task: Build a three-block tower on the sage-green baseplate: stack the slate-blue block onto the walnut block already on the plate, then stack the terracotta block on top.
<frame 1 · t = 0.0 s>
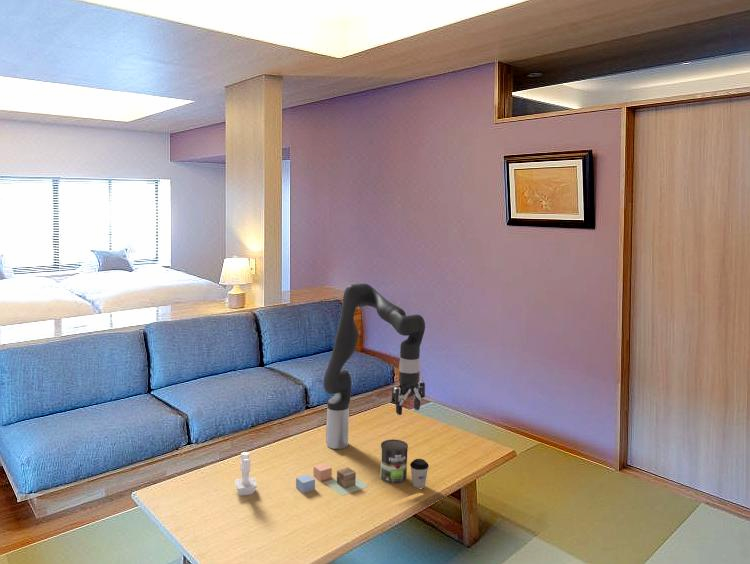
hand: (408, 411, 211), 29 cm above the table, fingers open, 8 cm apart
coffee can: (393, 479, 221), on the table
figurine: (245, 492, 209), on the table
baseplate: (346, 486, 214), on the table
slate block: (305, 491, 211), on the table
walnut block: (346, 484, 214), point 1 cm above the table, touching baseplate
coffee cup: (418, 487, 216), on the table
terracotta block: (322, 479, 220), on the table
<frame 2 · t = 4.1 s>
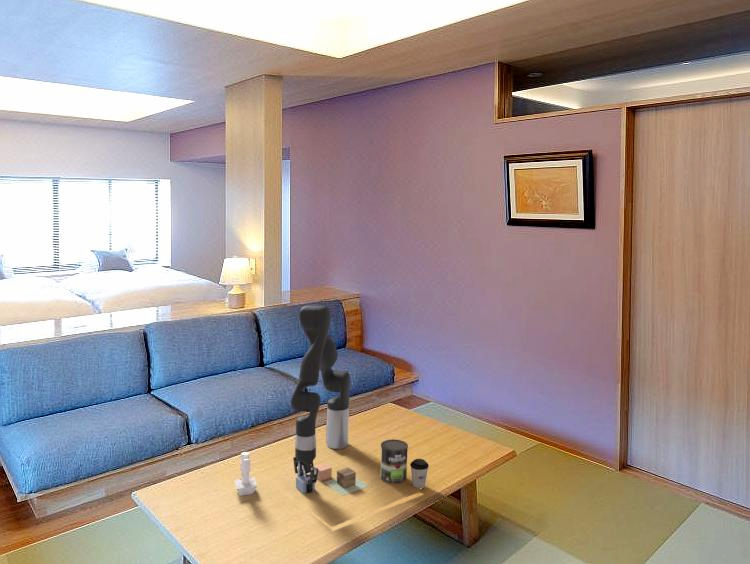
hand: (305, 489, 210), 1 cm above the table, fingers closed on slate block, 5 cm apart
slate block: (305, 491, 211), on the table, touching gripper
everything else where it was.
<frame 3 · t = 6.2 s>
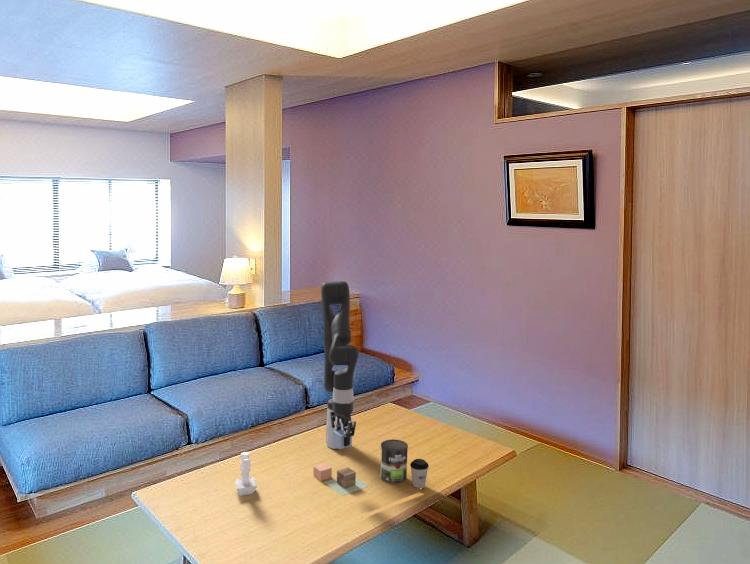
hand: (342, 443, 212), 17 cm above the table, fingers closed on slate block, 5 cm apart
slate block: (342, 445, 212), point 16 cm above the table, touching gripper
everything else where it was.
when the fingers open (8 cm above the table, at t = 8.6 s): slate block drops 1 cm, resting on walnut block.
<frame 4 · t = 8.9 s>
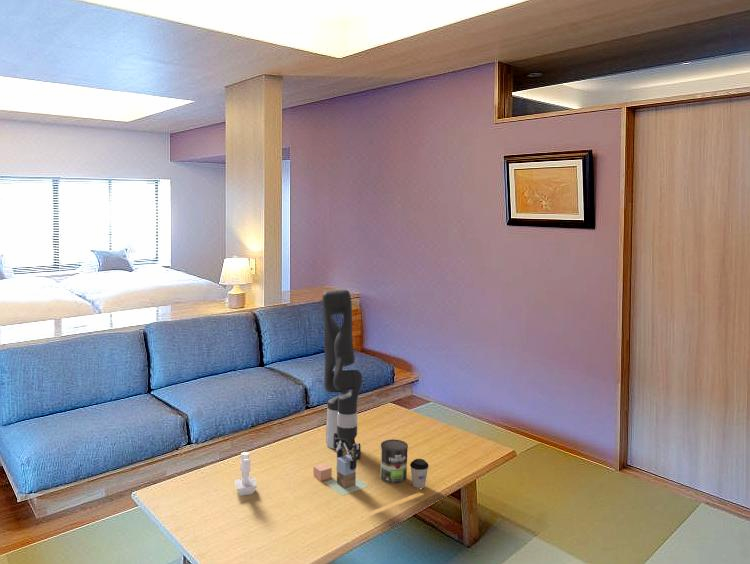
hand: (346, 464, 213), 9 cm above the table, fingers open, 8 cm apart
slate block: (346, 471, 214), point 6 cm above the table, touching walnut block
walnut block: (346, 484, 214), point 1 cm above the table, touching baseplate, slate block
everything else where it was.
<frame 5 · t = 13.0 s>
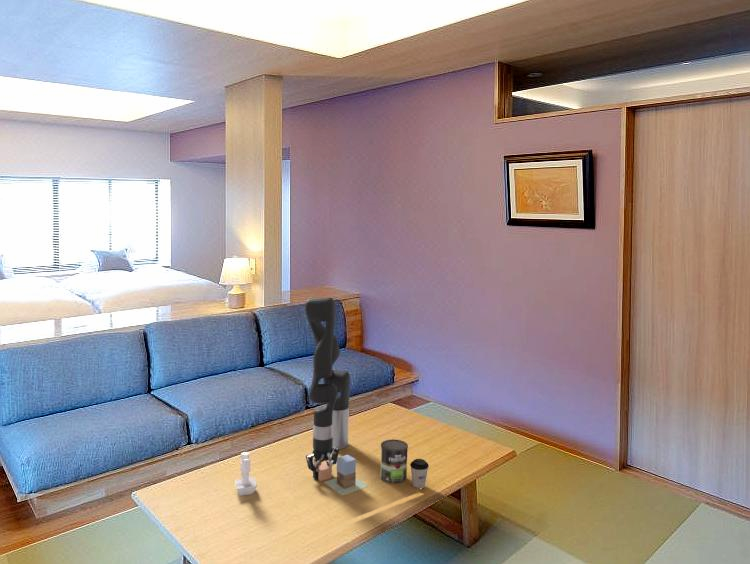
hand: (322, 477, 220), 1 cm above the table, fingers closed on terracotta block, 5 cm apart
terracotta block: (322, 479, 220), on the table, touching gripper
everything else where it was.
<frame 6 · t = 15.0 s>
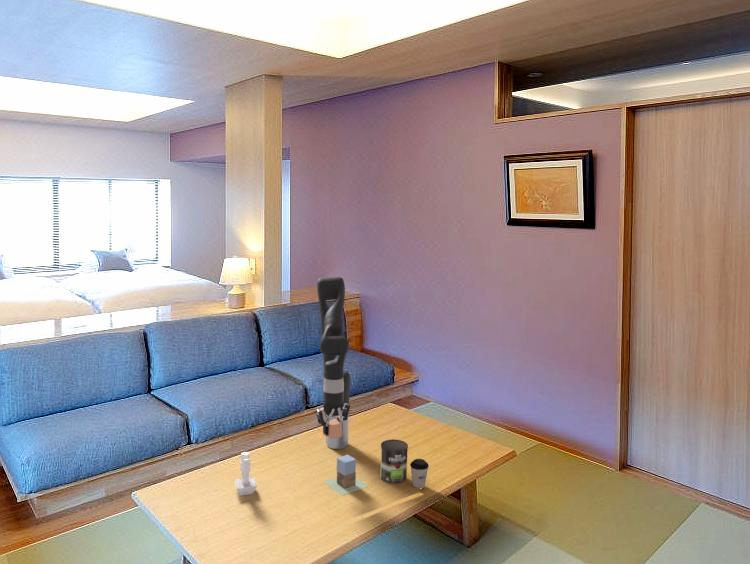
hand: (332, 433, 214), 20 cm above the table, fingers closed on terracotta block, 5 cm apart
terracotta block: (332, 435, 214), point 19 cm above the table, touching gripper
everything else where it was.
when the fingers open (13 cm above the table, at t = 16.9 s): terracotta block drops 1 cm, resting on slate block.
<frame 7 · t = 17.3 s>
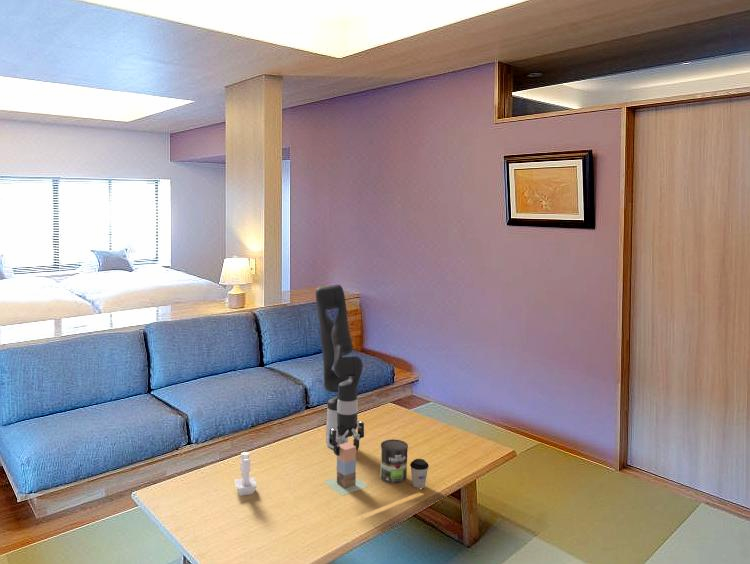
hand: (346, 452, 213), 14 cm above the table, fingers open, 8 cm apart
slate block: (346, 471, 214), point 6 cm above the table, touching terracotta block, walnut block
terracotta block: (346, 458, 213), point 11 cm above the table, touching slate block
everything else where it was.
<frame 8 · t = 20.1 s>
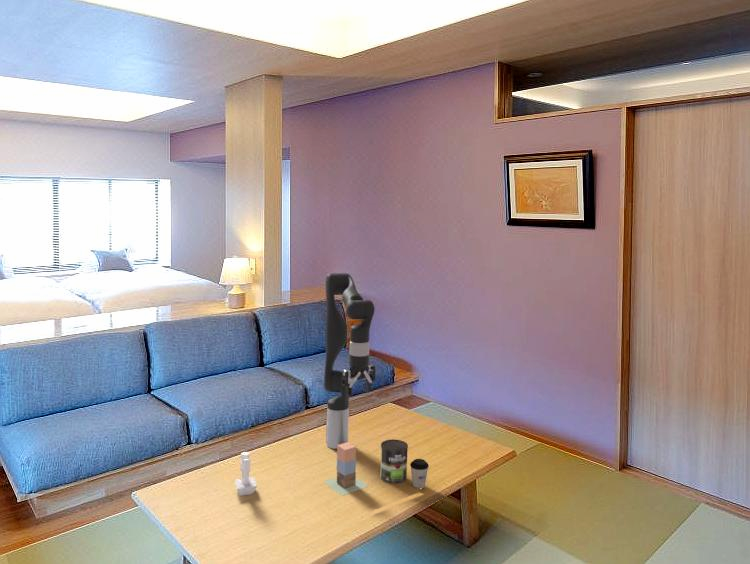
hand: (358, 394, 218), 33 cm above the table, fingers open, 8 cm apart
nothing on the table moved.
at the end: slate block 0.1 cm off-centre on the walnut block, point 5.0 cm above the walnut block's base; terracotta block 0.1 cm off-centre on the walnut block, point 10.0 cm above the walnut block's base; the gripper is holding nothing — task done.
